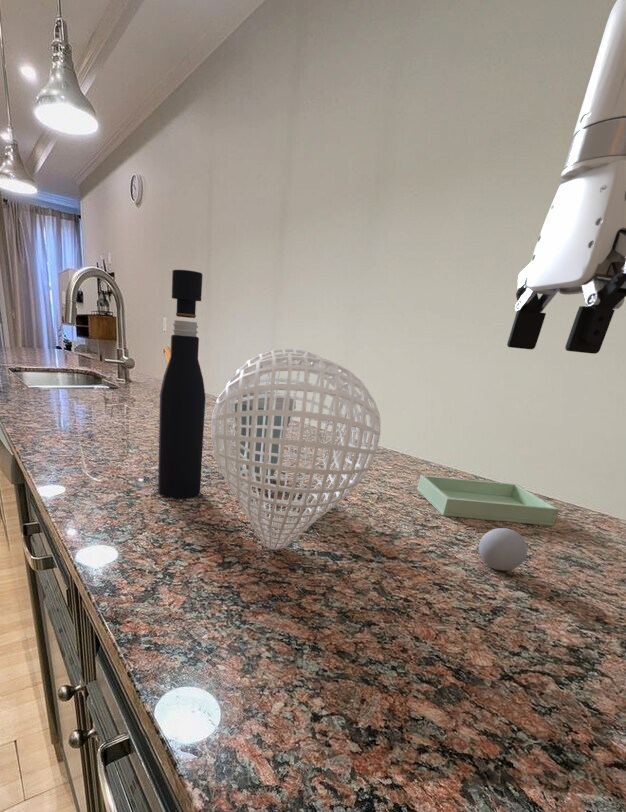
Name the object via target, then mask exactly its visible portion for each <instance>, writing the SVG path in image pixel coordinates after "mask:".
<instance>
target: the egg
mask: <svg viewBox="0 0 626 812" xmlns="http://www.w3.org/2000/svg"><path fill="white" fill-rule="evenodd" d="M478 554H479V556H480V559H481V560H482V561H483V563H485V564H486V565H487V566H488V567H490V568H492V569H493V570H497V571H511V570H514V569H516V568H518V567H520V566H521V565H523V563H524V562H525V560H526V558H527V556H528V544H527V542H526V540H525V539H524V537H523V536H522V535H521V534H520V533H519V532H517V531H516V530H513V529H512V528H511V529H510V528H506V527H498V528H494V529H491V530H489V531H488V532H486V533H484V535H482V537H481V538H480V540H479V543H478Z"/></svg>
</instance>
